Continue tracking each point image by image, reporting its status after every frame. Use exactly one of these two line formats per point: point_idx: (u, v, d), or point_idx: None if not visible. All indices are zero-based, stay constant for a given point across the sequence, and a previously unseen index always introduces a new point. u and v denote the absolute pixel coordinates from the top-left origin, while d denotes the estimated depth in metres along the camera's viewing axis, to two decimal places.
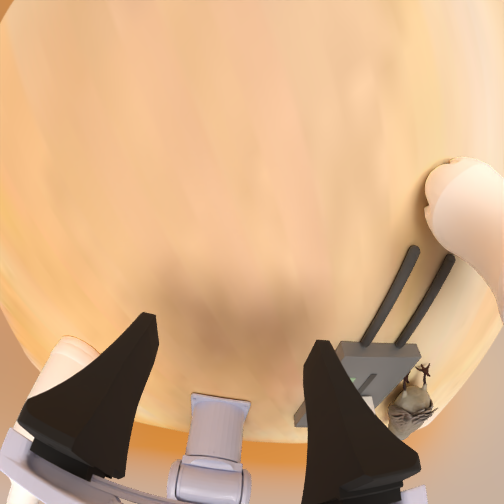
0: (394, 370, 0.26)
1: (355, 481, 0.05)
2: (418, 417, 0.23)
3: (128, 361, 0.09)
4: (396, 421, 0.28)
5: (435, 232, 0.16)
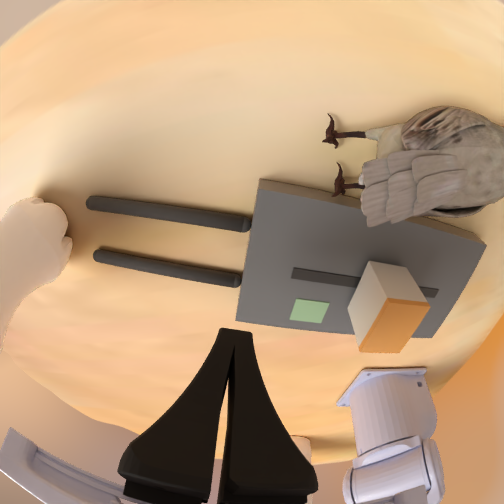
0: (291, 235, 0.16)
1: (228, 483, 0.05)
2: None
3: (225, 382, 0.09)
4: (456, 213, 0.11)
5: (56, 277, 0.18)
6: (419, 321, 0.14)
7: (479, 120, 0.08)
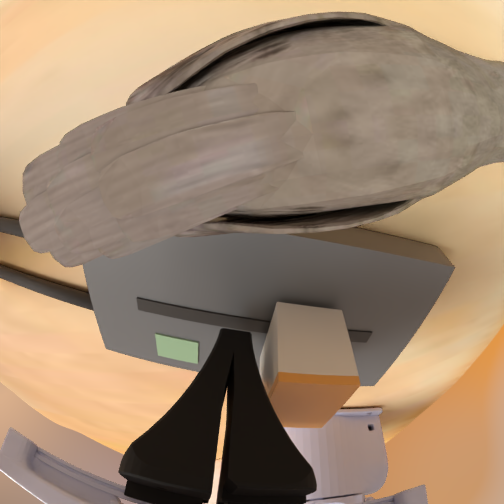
0: (120, 258, 0.11)
1: (227, 483, 0.05)
2: None
3: (226, 382, 0.09)
4: None
5: None
6: (344, 400, 0.09)
7: (360, 13, 0.04)
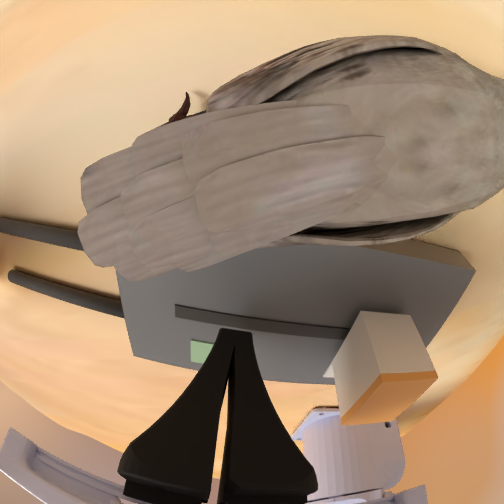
0: None
1: (228, 483, 0.05)
2: None
3: (225, 382, 0.09)
4: None
5: None
6: (421, 392, 0.09)
7: (421, 41, 0.04)
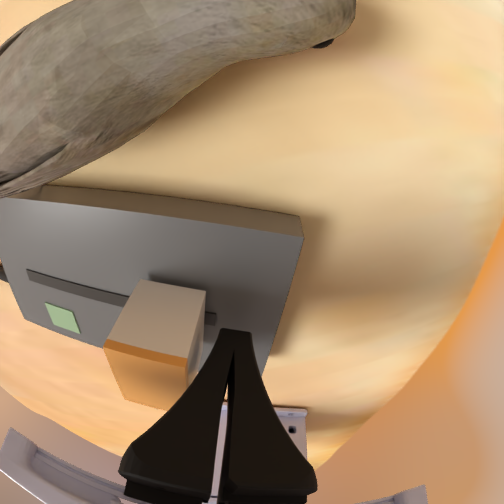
0: (11, 236, 0.11)
1: (228, 483, 0.05)
2: None
3: (225, 382, 0.09)
4: (39, 179, 0.06)
5: None
6: (182, 384, 0.09)
7: (22, 28, 0.03)
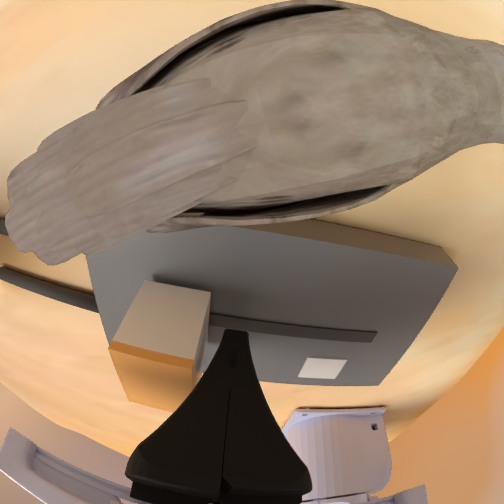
0: (127, 260, 0.12)
1: (222, 482, 0.05)
2: (88, 238, 0.05)
3: None
4: None
5: None
6: (188, 385, 0.09)
7: None
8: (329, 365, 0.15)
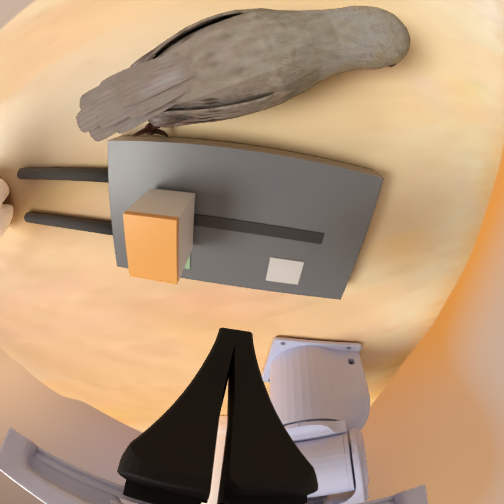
0: (138, 177, 0.17)
1: (228, 483, 0.05)
2: (121, 122, 0.10)
3: (225, 382, 0.09)
4: (235, 112, 0.12)
5: None
6: (173, 240, 0.14)
7: (230, 11, 0.09)
8: (290, 268, 0.20)
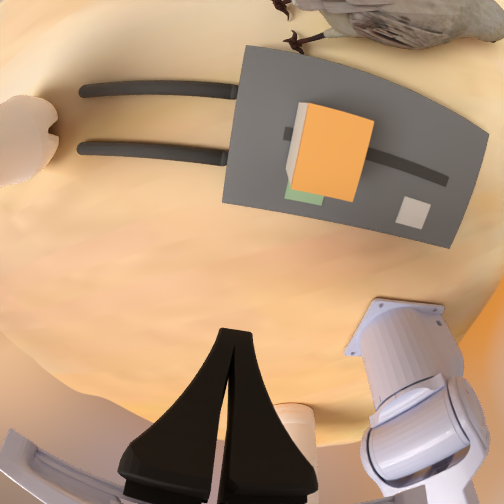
0: (280, 89, 0.14)
1: (228, 483, 0.05)
2: (332, 2, 0.07)
3: (225, 382, 0.09)
4: (413, 38, 0.09)
5: (36, 170, 0.15)
6: (365, 144, 0.11)
7: None
8: (418, 210, 0.17)
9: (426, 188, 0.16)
